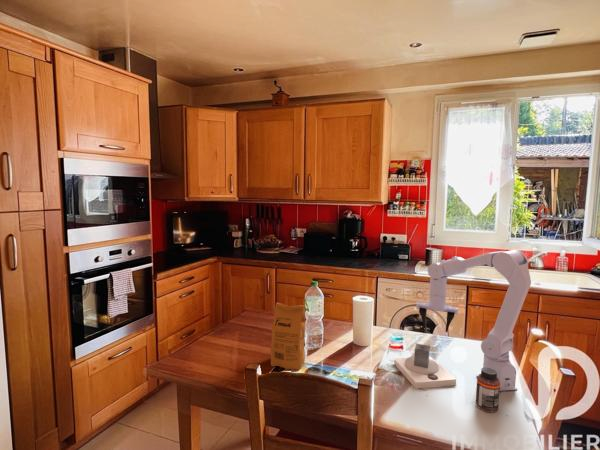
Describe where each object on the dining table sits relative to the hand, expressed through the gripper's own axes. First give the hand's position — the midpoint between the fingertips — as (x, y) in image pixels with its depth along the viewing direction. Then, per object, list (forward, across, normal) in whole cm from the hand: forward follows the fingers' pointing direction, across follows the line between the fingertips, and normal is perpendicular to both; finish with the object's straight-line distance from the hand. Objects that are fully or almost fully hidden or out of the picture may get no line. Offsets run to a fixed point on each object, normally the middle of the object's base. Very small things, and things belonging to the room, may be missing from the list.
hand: (435, 329), depth 135 cm
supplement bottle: (+11, -16, +28) cm, 34 cm away
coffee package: (+11, +48, +30) cm, 57 cm away
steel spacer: (+8, +3, +15) cm, 17 cm away
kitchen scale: (+10, +2, +16) cm, 19 cm away
